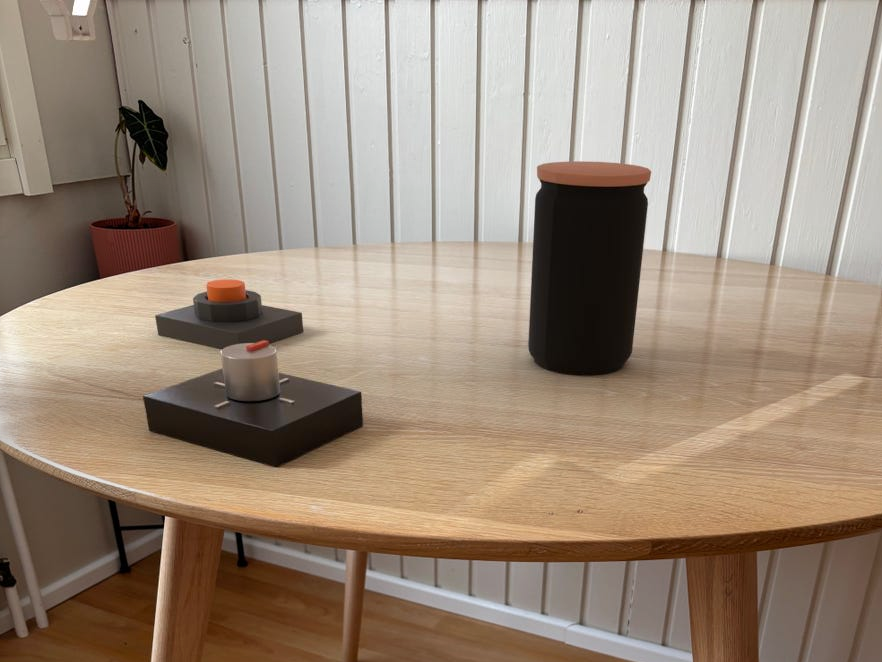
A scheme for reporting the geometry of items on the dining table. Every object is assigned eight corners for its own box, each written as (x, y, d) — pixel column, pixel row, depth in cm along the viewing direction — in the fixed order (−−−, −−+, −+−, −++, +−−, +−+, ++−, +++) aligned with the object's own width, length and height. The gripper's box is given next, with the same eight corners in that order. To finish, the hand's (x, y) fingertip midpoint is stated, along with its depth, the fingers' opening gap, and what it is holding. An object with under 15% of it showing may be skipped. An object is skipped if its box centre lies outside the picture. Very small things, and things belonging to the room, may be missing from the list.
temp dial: (255, 405, 75) (249, 357, 73) (214, 395, 77) (208, 348, 75) (291, 390, 78) (287, 344, 76) (251, 381, 80) (246, 336, 78)
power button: (200, 301, 100) (198, 284, 99) (227, 294, 103) (224, 277, 102) (228, 306, 99) (225, 289, 98) (254, 299, 101) (252, 282, 101)
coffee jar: (651, 362, 97) (674, 169, 87) (584, 384, 91) (601, 178, 81) (573, 341, 103) (586, 158, 94) (505, 359, 97) (512, 166, 87)
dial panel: (148, 431, 78) (141, 393, 76) (241, 395, 86) (236, 361, 84) (276, 467, 72) (272, 428, 70) (363, 425, 80) (361, 389, 78)
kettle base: (158, 335, 102) (151, 297, 100) (223, 316, 109) (219, 280, 107) (240, 354, 97) (235, 314, 95) (303, 332, 104) (300, 295, 102)
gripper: (-64, -200, 64) (-10, 41, 71) (164, -154, 79) (189, 41, 86) (-118, -192, 67) (-60, 39, 74) (113, -149, 81) (141, 40, 89)
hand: (75, 40), depth 80 cm, fingers closed
